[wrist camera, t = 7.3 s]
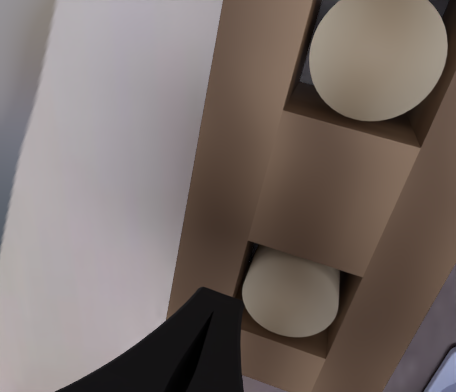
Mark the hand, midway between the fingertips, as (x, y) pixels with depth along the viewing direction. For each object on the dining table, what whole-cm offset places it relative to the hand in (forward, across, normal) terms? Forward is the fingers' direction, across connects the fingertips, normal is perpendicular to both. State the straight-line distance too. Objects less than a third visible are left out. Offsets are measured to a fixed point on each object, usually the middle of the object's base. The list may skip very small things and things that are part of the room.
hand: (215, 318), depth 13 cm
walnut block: (+10, -2, -2) cm, 10 cm away
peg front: (+9, -2, -7) cm, 12 cm away
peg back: (+9, -2, +3) cm, 10 cm away
